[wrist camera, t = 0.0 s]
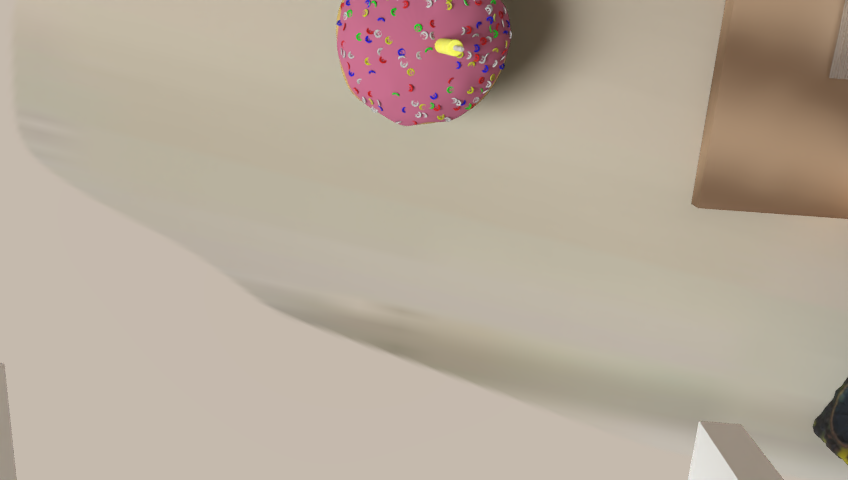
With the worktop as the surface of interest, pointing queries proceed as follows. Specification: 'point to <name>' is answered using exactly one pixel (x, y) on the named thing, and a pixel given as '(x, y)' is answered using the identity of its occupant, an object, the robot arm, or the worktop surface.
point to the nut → (841, 49)
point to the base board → (776, 113)
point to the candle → (835, 423)
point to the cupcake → (422, 55)
